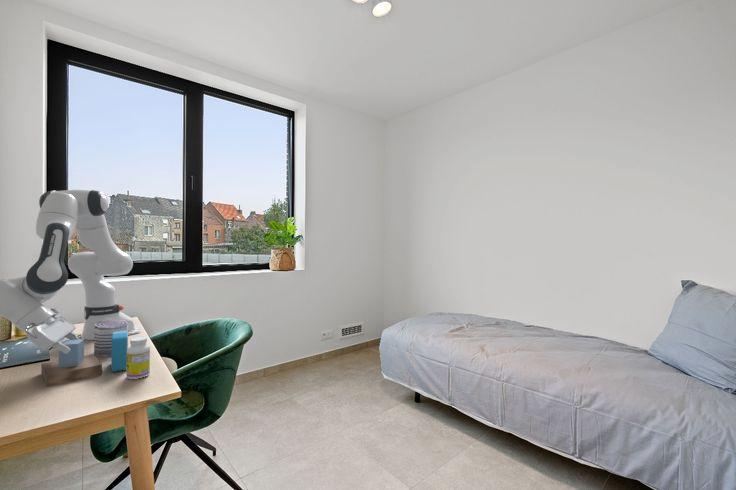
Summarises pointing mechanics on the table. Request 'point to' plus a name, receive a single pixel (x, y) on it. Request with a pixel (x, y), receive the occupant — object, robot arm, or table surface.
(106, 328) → the can
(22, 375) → the table surface
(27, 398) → the table surface
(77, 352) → the slate blue block
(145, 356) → the supplement bottle
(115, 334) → the data package
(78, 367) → the walnut base block
